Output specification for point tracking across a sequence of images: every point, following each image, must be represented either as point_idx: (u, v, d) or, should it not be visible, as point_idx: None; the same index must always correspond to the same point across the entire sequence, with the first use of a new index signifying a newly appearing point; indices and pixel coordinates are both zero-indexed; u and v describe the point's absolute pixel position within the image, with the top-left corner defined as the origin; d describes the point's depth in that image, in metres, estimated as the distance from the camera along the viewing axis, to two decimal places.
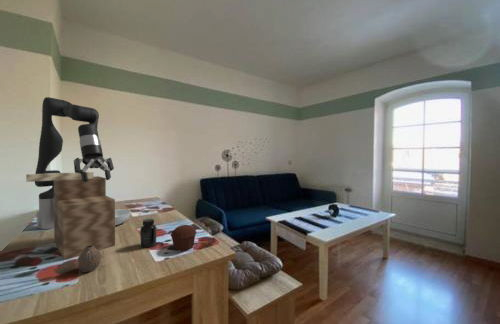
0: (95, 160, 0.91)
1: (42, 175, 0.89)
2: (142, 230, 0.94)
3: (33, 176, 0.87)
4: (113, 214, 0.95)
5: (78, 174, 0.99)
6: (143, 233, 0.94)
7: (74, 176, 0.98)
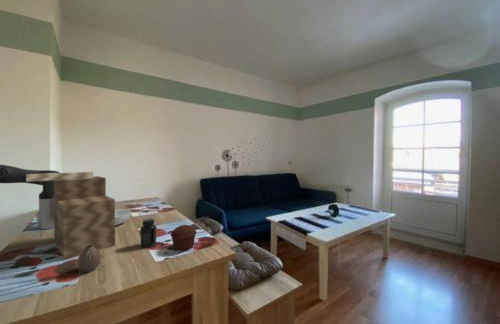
0: None
1: (42, 175, 0.90)
2: (142, 230, 0.94)
3: (33, 176, 0.88)
4: (113, 214, 0.95)
5: (78, 174, 0.99)
6: (143, 233, 0.94)
7: (74, 176, 0.98)
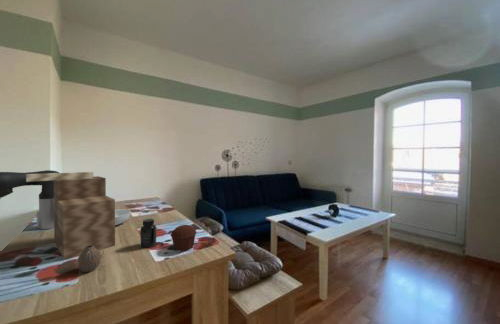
0: None
1: (42, 175, 0.90)
2: (142, 230, 0.94)
3: (33, 176, 0.88)
4: (113, 214, 0.95)
5: (78, 174, 0.99)
6: (143, 233, 0.94)
7: (74, 176, 0.98)
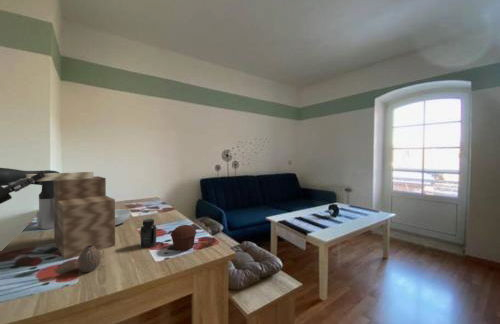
0: (15, 189, 0.84)
1: None
2: (142, 230, 0.94)
3: None
4: (113, 214, 0.95)
5: (78, 174, 0.99)
6: (143, 233, 0.94)
7: (74, 176, 0.98)
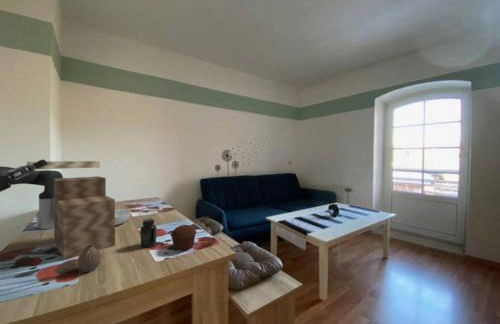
0: (14, 177, 0.76)
1: None
2: (142, 230, 0.94)
3: None
4: (113, 214, 0.95)
5: (83, 163, 0.91)
6: (143, 233, 0.94)
7: (79, 165, 0.90)
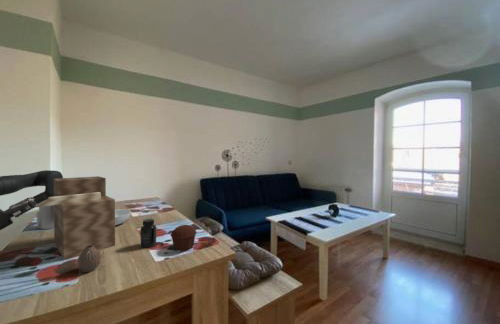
0: None
1: (46, 200, 0.81)
2: (142, 230, 0.94)
3: None
4: (113, 214, 0.95)
5: (84, 196, 0.91)
6: (143, 233, 0.94)
7: (81, 198, 0.90)
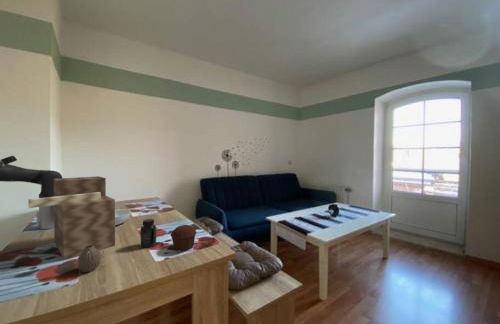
0: None
1: (46, 200, 0.81)
2: (142, 230, 0.94)
3: (36, 201, 0.79)
4: (113, 214, 0.95)
5: (84, 196, 0.91)
6: (143, 233, 0.94)
7: (81, 198, 0.90)
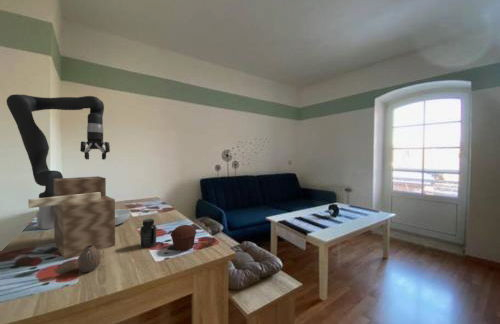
0: (94, 143, 1.17)
1: (46, 200, 0.81)
2: (142, 230, 0.94)
3: (36, 201, 0.79)
4: (113, 214, 0.95)
5: (84, 196, 0.91)
6: (143, 233, 0.94)
7: (81, 198, 0.90)
